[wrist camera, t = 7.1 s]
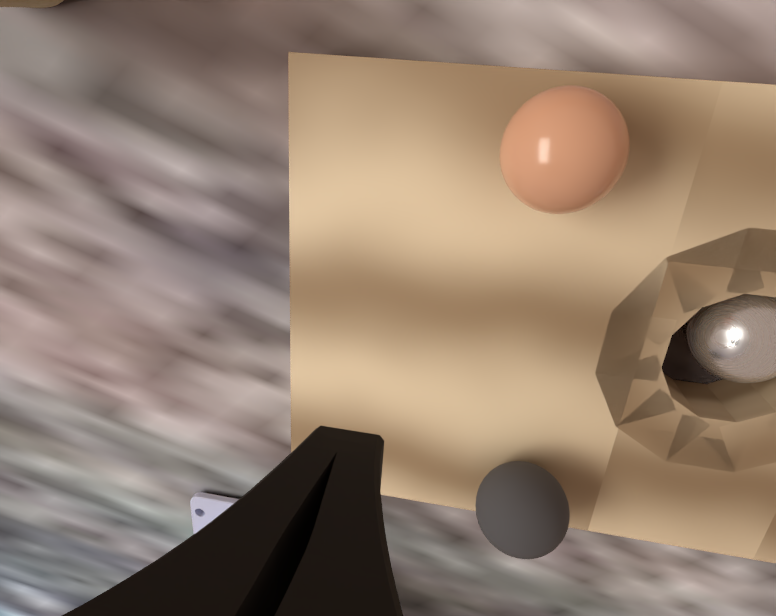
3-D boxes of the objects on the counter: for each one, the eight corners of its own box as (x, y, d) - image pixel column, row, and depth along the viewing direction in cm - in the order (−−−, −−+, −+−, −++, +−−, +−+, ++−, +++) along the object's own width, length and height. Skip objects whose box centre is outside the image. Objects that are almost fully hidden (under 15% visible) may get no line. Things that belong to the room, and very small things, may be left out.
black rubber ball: (552, 516, 20) (566, 589, 17) (470, 502, 20) (469, 570, 17) (570, 450, 18) (587, 516, 16) (481, 436, 19) (482, 498, 16)
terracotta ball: (597, 207, 15) (626, 232, 12) (489, 196, 15) (492, 219, 13) (624, 91, 14) (664, 88, 11) (506, 82, 14) (514, 78, 11)
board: (774, 518, 21) (810, 569, 19) (309, 442, 23) (291, 479, 21) (977, 103, 15) (1069, 104, 12) (313, 58, 17) (288, 52, 15)
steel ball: (814, 385, 17) (782, 397, 15) (706, 369, 19) (667, 379, 17) (821, 287, 16) (789, 286, 14) (711, 284, 19) (671, 284, 17)
